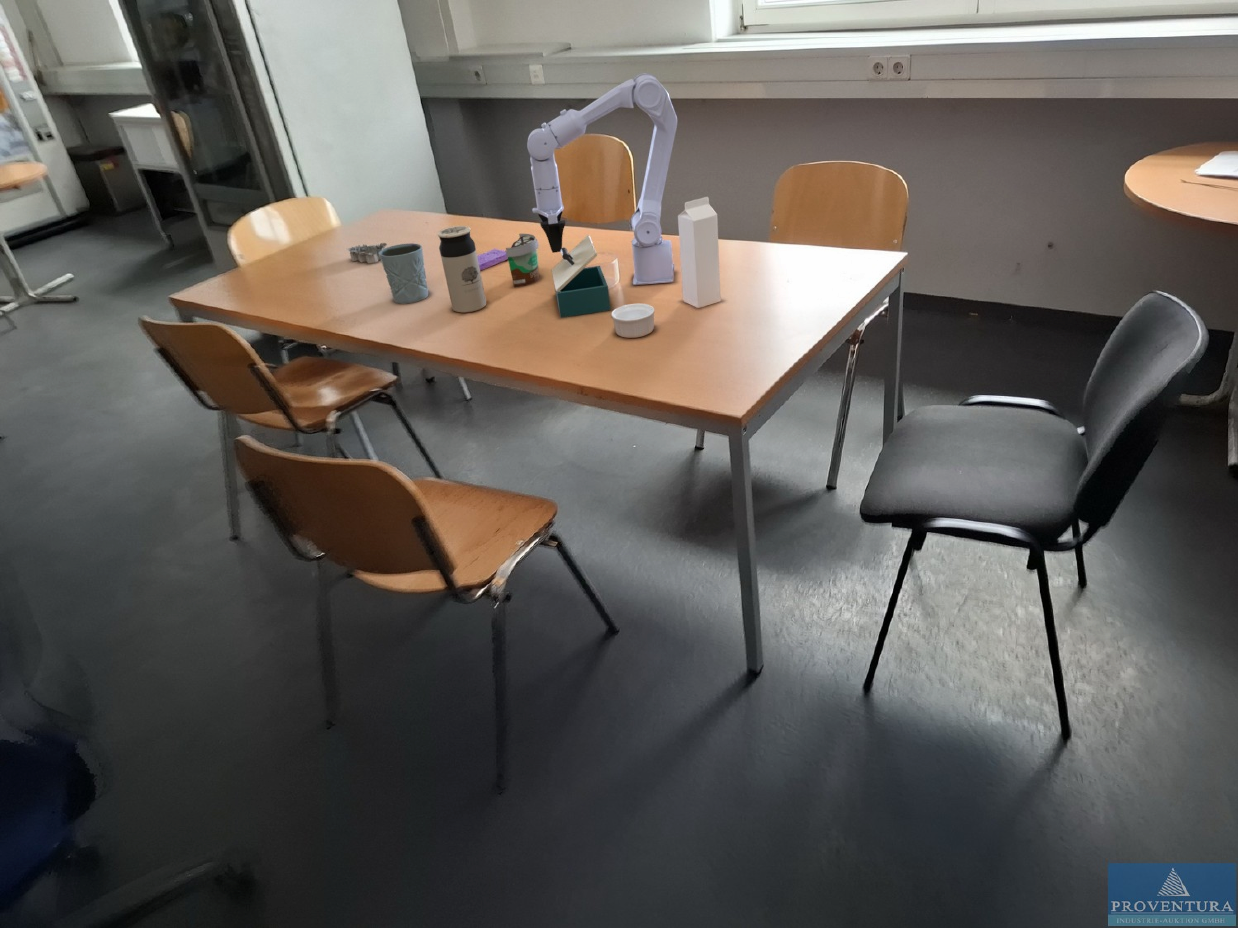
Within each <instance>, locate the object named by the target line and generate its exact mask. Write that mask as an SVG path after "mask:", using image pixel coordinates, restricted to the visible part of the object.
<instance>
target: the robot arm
mask: <svg viewBox="0 0 1238 928" xmlns="http://www.w3.org/2000/svg"><path fill="white" fill-rule="evenodd" d="M634 103H635V105H637V107H638V108H639V109H640V110H641V111H643V112H645V114H647V115H648V117H649V118H650V120H651V121H652V122H653V125H654V126H653V131H652V136H651V142H650V146H649V152H648V157H647V163H646V168H645V173H644V179H643V183H642V189H641V194H640V198H639V200H638V203H637V207H636V209H635V211H634V212H633V214H632V215H631V217H630V226H631V229H632V231H633V236H634V237H633V239H632V240H631V250H632V259H633V269H634V270H633V271H634V273H633V279H632V285H633V286H642V285H654V284H655V285H656V284H657V285H658V284H668V283H673V282H674V272H676V271H675V264H674V258H673V257H674V256H673V245H672V240H670V239H669V240H668V239H667V240H666V239H663V236H662V227H661V216H662V201H663V195H664V191H665V186H666V181H667V176H668V171H669V167H670V163H671V162H670V161H671V156H672V153H673V146H674V142H675V138H676V132H677V127H678V117H677V114H676V111H675V108H674V106H673V104H672V101H671V98H670V94H669V92H668V91H667V89H666V88H665V87H664V86H663V84H662V83H661V82H660V81H659V80H658V79H657V77H655V76H654V75H653V74H652V73H647V72H646V73H645V72H643V73H640V74H638V75H636V76H635V77H634V79H633V78H630V79H627V80H626V81H623V82H622V83H620V84H619V85H617V86H615V87H614V88H612V89H610V90H609V91H608V92H606V93H605V94H603V95H602V96H600V97H599V98H597V99H595V100H593V102H591V103H590V104H588V105H587V106H585V107H583V108H582V109H580V110H576V109H573V108H570V109H568V110H566V109H562V110H561V111H559V114H560V115H558V116H557V117H556V118H554V119H551V121H549V122H547V123H546V122H543V123H542V124H541V127H542V128H535V129H534V130H532V131H531V132H530V133H529V135H528V137H527V142H526V143H527V144H526V147H527V151H528V153H529V156H530V158H529V160H530V164H531V166H530V169H531V176H532V184H533V190H534V196H535V202H536V207H533V208H531V210H532V213H533V214H537V215H538V217H539V218H540V220H541V221H540V222H539V225H540V227H541V229H542V230H543V232H544V233H545V235H546V238H547V241H548V245H549V247H550V248H549V249H550V250H551V252H552V253H554V254H555V253H561V249H562V248H563V235H564V229H565V226H566V223H567V222H566V220H565V219H564V220H563V219H562V220H561V218H562V215H563V210H564V209H565V208H564V204H563V200H562V199H563V198H562V192H561V185H560V179H559V178H560V177H559V169H558V164H557V162H556V158H555V150H561V149H562V148H564V147H566V146H567V145H568V144H570V143H572V142H574V141H575V140H577V139H579V138H580V137H582V136H584V135H585V133H586V130H587V126H588V125H590V124H592V123H593V122H595V121H597V120H599V119H601V118H602V117H604V116H606V115H608V114H610V113H612V112H613V111H615V110H617V109H619V108H624V109H626V108H627V109H634V107H635V106H634Z"/></svg>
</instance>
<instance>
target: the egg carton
mask: <svg viewBox="0 0 1238 928" xmlns="http://www.w3.org/2000/svg"><path fill="white" fill-rule="evenodd" d="M387 245H388V244H387V243H386V242H381V243H379V244H373V245H367V244H362V246H361V245H360V244H358V245H355V246H351V247H349V248H347V247H346V250H347V251H348V252H349V255H350V259H351V261H352V262H356V261H357V262H358V261H359V263H367V264H375V263H379V261H381V259H380V256H379V252H380V251H381V250H383V249H385V248H386V246H387Z"/></svg>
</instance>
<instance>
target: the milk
mask: <svg viewBox="0 0 1238 928" xmlns="http://www.w3.org/2000/svg"><path fill="white" fill-rule="evenodd" d="M718 222H719V221H718V213H717V212H716V211H715V210H714V208H713V207H712V206H711V205H710V198H709V196H704V197H700V198H696V199H693V200H689V201H686V202H684V210H683V211H682V212H680V213H679V214H678V215H677V225H678V241H679V256H680V257H679V258H680V272H681V286H682V287H681V289H682V301H683V302H684V303H686V304H688V305H690V306H693V307H694V308H697V309H701V308H704V307H707V306H711V305H713V304H716V303H721V301H722V299H721V276H720V274H721V273H720V272H721V271H720V247H719V246H720V245H719V224H718Z"/></svg>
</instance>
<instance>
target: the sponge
mask: <svg viewBox="0 0 1238 928" xmlns="http://www.w3.org/2000/svg"><path fill="white" fill-rule="evenodd" d="M477 258H478V263H479V268H480V271H483V270H485V269H488V268H490V267H493V266H495V265H498V264H500V263H503V262H505V261H506V260H507V261H508V257H507V256H506V250H502V249H498V248H493V249H491V250H488V251H486V252H483V253H480V254H477Z"/></svg>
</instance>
